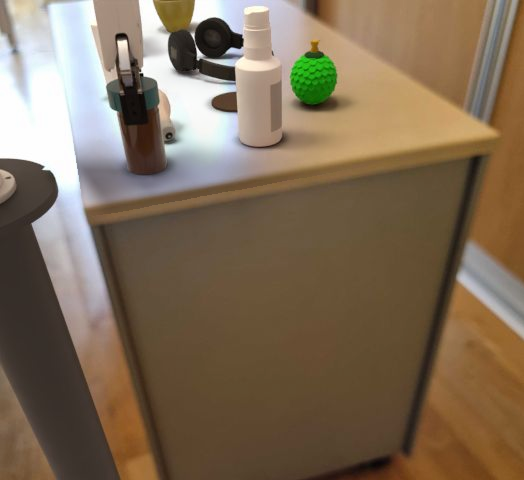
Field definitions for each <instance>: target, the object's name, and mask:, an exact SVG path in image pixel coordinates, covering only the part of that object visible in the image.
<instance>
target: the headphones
mask: <svg viewBox="0 0 524 480" xmlns="http://www.w3.org/2000/svg"><path fill="white" fill-rule="evenodd" d="M242 48H244V34H243V33H242V34H241V33H238V32H235V31H233V30H232V29H231V27H230V25H229V24H228V23H227V22H226V21H225V20H224V19H222V18H220V17H216V16H213V17H208V18H206V19H204V20H202V21H201V22H199V23H198V25H197V26H196V27H195V31H194V35H192V34H191V32H190V31H189V30H183V29H181V30H179V31H174V32H170V34H169V35H168V39H167V53H168V57H169V60H170V63H171V65H172V67H173V68H174V70H175V71H177V72H179V73H184V72H187V73H188V72H191V71H196V70H198V74H201V75H203V76H206V77H210V78H213V79H218V80H222V81H227V82H236V75H235V65H226V64H221V63H217V62H213V61H210V60H207V59H204V58H201V57H200V58H198V51H199V52H200V53H201V54H202V55H203V56H205V57H207V58H210V59H217V58H221V57H222V56H225V54H226V53H227V52H228V51H229V50H231V49H236V50H241V49H242ZM197 49H198V51H197ZM272 55H273V56H274V57H275V54H274V51H273V50H272Z"/></svg>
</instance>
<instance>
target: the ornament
mask: <svg viewBox="0 0 524 480" xmlns="http://www.w3.org/2000/svg"><path fill="white" fill-rule="evenodd" d="M319 43H320V40H319V39H311V40H310V45H311V48H310V50H308V51H306V52H305V53H304V54H303V55H301V56H299V58H298V59H296V61H295V62H294V65H293V66H292V67H291V69H290V74H289V78H290V80H289V81H290V82H289V83H290V86H291V91H292V92H293V93H294V95H295V97H296V98H297V99H298V100H300V102H303V103H305V104H307V105H311V106H312V105H319V104H321V103H324V102H325V101H326V100H328V98H330V97H331V95H332V93H333V92H335V89H336V87H337V86H336V85H337V84H338V73H337V72H338V70H337V67H336V66H335V63H334V61H333V60H332V59H330V57H329V56H328V55H326V54H325V53H324V52H323V51H321V50H319V47H318V46H319Z"/></svg>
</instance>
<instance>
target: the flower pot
mask: <svg viewBox="0 0 524 480" xmlns="http://www.w3.org/2000/svg"><path fill="white" fill-rule="evenodd" d="M152 3H153V6H154V9H155V12H156V14H157V16H158V18H159V20H160V22H161V24H162V25H163V27H164V28H165V30H167V32H169V33H172V32H174V31H179V30H181V29H183V30H187V31H189V28H190V26H191V23H192V20H193V18H194V17H193V16H194V12H195V7H196V6H195V5H196V0H152Z"/></svg>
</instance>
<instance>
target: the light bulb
mask: <svg viewBox="0 0 524 480" xmlns="http://www.w3.org/2000/svg"><path fill="white" fill-rule="evenodd" d="M158 92H159V99H160V103H159V105H158V108H159V113H160V119H161V126H162V133H163V139H164V142H169V141H171V140H173V139H174V138H175V136H176V129H175V127H174V125H173V122H172V119H171V112H172V111H171V103H170V100H169V98H168V96H167V94H166V93H165V92H163V91H162V90H161V89H160V88H158Z"/></svg>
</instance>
